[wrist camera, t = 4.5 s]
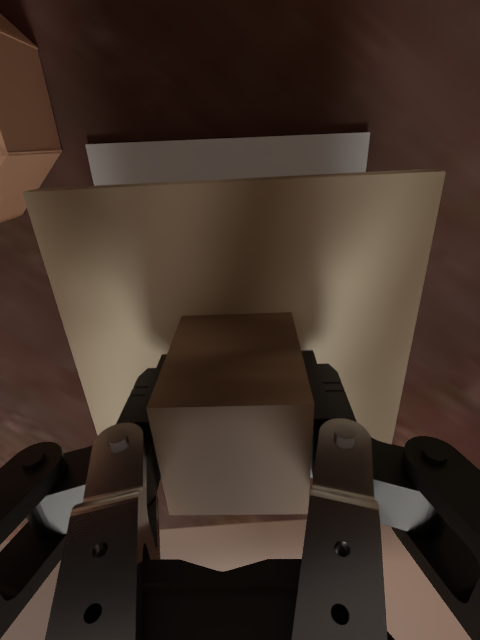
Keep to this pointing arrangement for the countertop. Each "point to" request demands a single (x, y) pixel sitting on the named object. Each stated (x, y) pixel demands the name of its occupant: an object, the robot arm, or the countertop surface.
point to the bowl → (23, 121)
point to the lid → (240, 315)
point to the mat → (227, 158)
